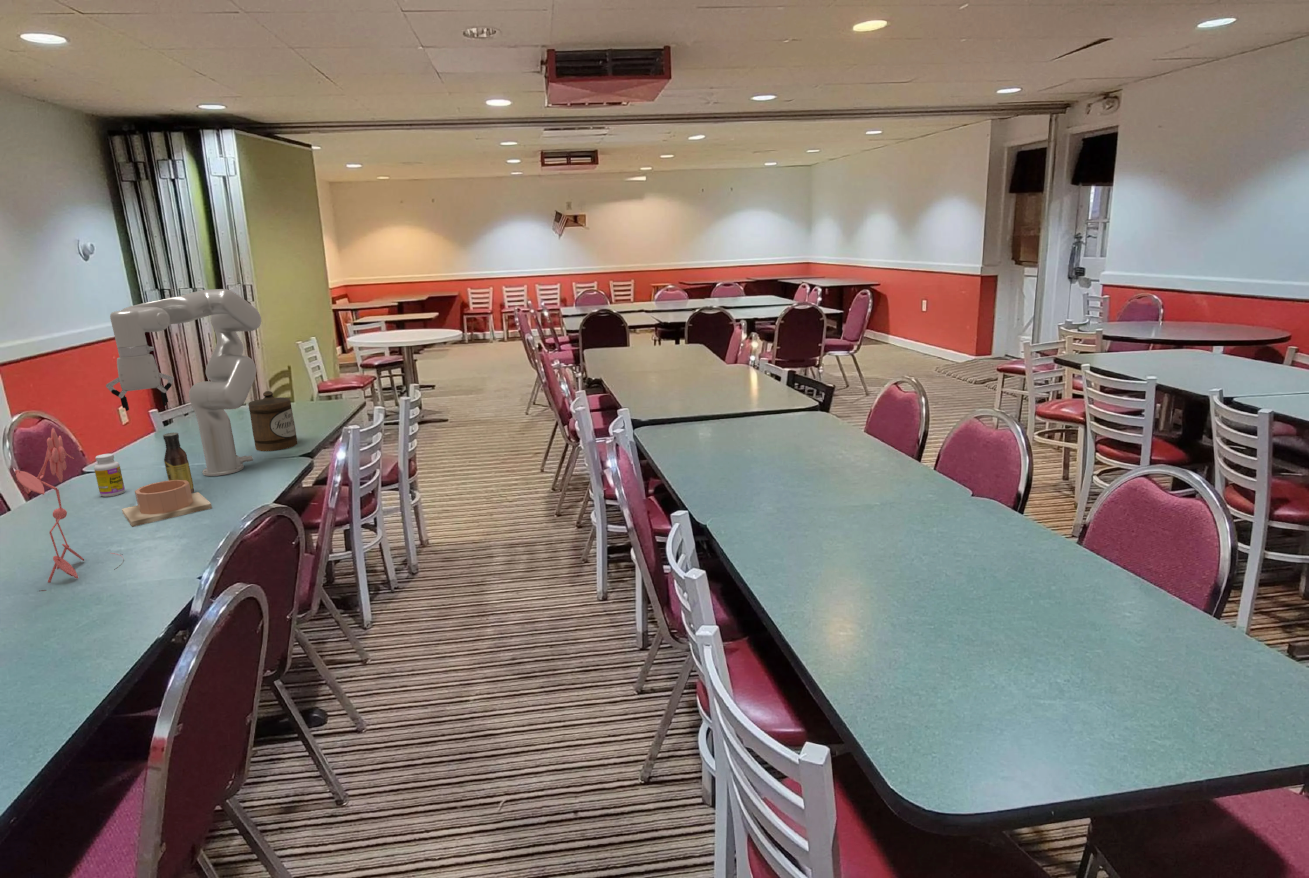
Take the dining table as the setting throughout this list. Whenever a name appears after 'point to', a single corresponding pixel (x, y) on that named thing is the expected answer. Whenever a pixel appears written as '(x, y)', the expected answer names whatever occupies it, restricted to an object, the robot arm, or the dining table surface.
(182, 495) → the jar collar
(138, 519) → the birch board
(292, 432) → the wooden container
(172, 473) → the sauce bottle
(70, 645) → the dining table surface
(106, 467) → the supplement bottle
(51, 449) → the figurine
